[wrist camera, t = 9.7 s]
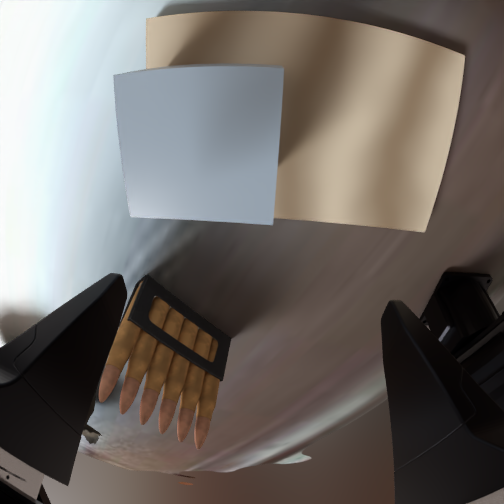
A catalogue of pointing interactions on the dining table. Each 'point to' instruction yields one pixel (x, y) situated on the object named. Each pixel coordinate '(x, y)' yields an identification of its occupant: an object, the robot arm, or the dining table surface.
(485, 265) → the dining table surface
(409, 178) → the stub board
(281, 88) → the pale grey cube
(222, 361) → the ammunition clip
